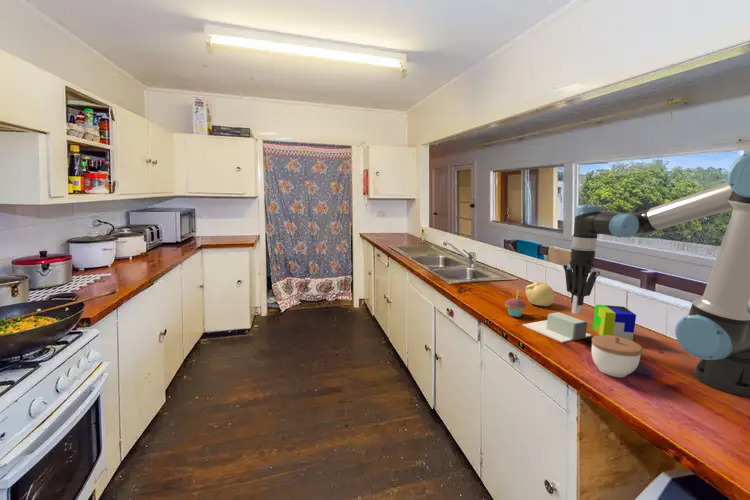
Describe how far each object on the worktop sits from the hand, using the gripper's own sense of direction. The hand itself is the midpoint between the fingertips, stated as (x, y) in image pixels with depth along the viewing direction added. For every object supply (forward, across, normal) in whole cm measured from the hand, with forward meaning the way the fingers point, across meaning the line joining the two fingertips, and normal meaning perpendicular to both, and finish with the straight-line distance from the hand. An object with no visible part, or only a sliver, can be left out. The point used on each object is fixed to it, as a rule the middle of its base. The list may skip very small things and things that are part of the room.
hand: (575, 312), depth 138 cm
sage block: (+6, -3, 0) cm, 7 cm away
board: (+10, +7, 0) cm, 12 cm away
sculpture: (+10, +34, -22) cm, 42 cm away
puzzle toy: (+10, -4, -17) cm, 20 cm away
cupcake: (+10, +27, +1) cm, 29 cm away
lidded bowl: (+10, -23, +13) cm, 28 cm away
